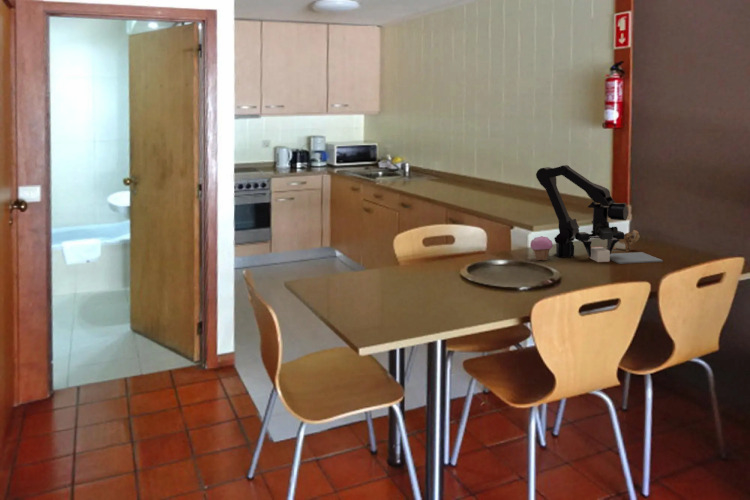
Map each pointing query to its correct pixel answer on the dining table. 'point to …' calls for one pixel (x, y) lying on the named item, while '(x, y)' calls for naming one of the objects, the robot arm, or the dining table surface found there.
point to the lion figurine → (629, 239)
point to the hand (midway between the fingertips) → (599, 256)
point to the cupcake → (541, 247)
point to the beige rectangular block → (600, 254)
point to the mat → (633, 258)
